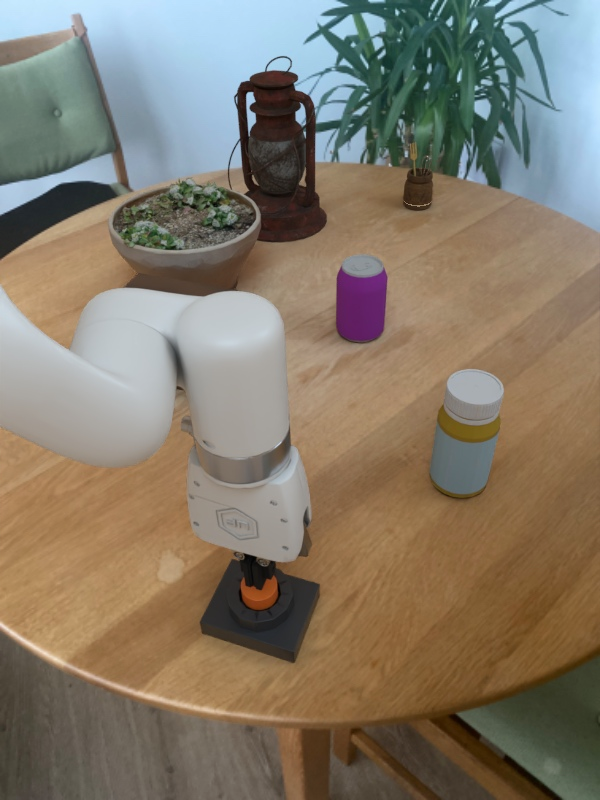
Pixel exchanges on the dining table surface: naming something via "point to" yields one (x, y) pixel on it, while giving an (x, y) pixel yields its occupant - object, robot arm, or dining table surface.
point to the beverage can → (361, 298)
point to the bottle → (466, 433)
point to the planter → (187, 232)
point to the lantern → (279, 156)
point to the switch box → (262, 614)
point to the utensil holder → (418, 184)
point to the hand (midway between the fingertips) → (259, 576)
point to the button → (260, 594)
